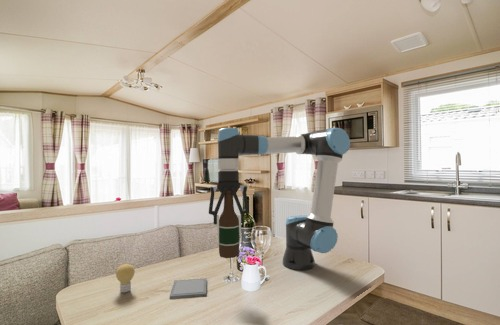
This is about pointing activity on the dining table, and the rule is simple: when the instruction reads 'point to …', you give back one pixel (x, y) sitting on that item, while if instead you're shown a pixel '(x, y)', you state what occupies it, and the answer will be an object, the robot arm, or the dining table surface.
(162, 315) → the dining table surface
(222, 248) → the beer bottle
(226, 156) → the robot arm
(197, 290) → the plate
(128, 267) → the light bulb
